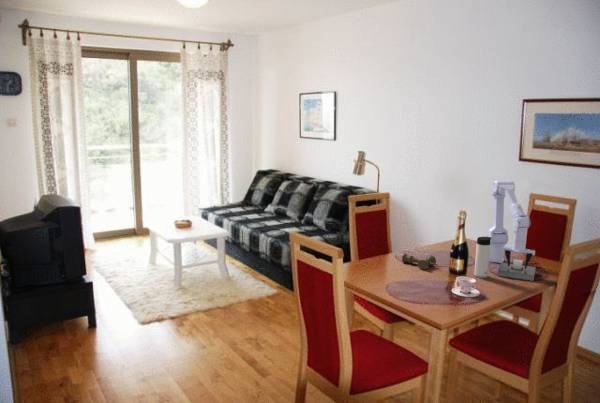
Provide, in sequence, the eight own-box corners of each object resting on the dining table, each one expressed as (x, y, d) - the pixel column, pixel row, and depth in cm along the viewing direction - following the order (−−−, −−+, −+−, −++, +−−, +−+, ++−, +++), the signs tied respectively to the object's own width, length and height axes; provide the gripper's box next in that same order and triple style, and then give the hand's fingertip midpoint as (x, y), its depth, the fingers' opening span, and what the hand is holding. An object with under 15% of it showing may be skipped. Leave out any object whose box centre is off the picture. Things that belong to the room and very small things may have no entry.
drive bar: (511, 274, 244) (513, 261, 242) (512, 272, 247) (513, 259, 246) (520, 276, 242) (521, 262, 240) (521, 273, 245) (522, 260, 244)
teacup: (446, 292, 220) (447, 279, 219) (459, 285, 228) (460, 273, 227) (471, 299, 212) (472, 286, 210) (484, 292, 220) (485, 279, 219)
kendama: (408, 261, 266) (442, 268, 253) (398, 265, 259) (433, 273, 246) (408, 250, 265) (442, 257, 251) (398, 254, 258) (433, 261, 245)
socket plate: (497, 275, 242) (498, 270, 241) (500, 267, 254) (501, 262, 253) (533, 281, 234) (533, 275, 234) (534, 272, 247) (535, 267, 246)
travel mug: (489, 279, 237) (492, 239, 233) (475, 278, 238) (478, 238, 235) (487, 274, 243) (490, 235, 239) (473, 273, 244) (476, 235, 241)
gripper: (503, 240, 241) (500, 266, 243) (535, 244, 234) (532, 271, 237) (504, 237, 247) (502, 262, 249) (536, 240, 240) (533, 267, 243)
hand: (517, 266), depth 243 cm, fingers open, 7 cm apart
